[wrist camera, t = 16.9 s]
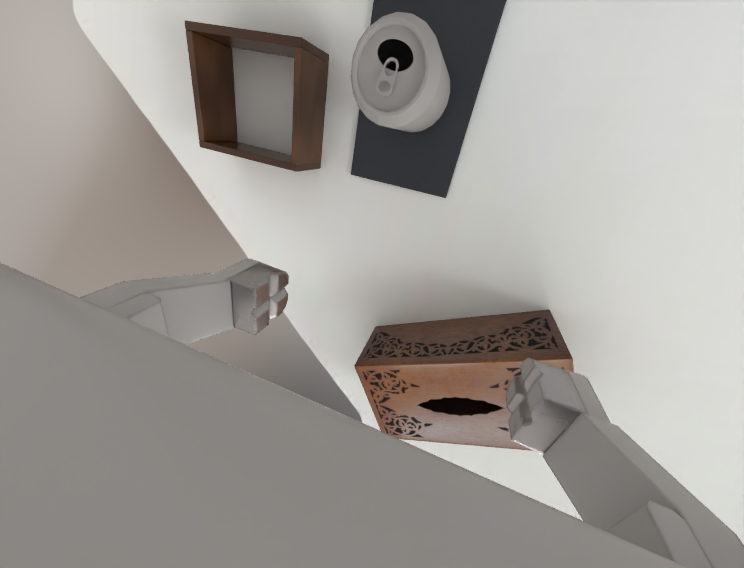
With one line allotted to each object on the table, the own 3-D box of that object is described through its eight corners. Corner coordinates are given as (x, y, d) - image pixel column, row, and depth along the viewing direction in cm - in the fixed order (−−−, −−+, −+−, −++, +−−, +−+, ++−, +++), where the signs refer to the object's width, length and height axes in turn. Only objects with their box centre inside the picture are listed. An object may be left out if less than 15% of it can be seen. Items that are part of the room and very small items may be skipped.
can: (464, 65, 28) (458, 20, 18) (432, 142, 32) (413, 140, 22) (398, 42, 29) (358, -14, 19) (375, 119, 33) (332, 107, 23)
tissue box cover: (398, 390, 52) (383, 437, 44) (375, 326, 47) (354, 365, 39) (557, 391, 41) (579, 454, 33) (549, 309, 37) (572, 358, 28)
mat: (379, -36, 27) (378, -38, 27) (513, -24, 25) (514, -27, 25) (351, 174, 37) (350, 174, 37) (445, 197, 35) (445, 197, 34)
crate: (226, 38, 35) (184, 20, 30) (329, 54, 32) (302, 37, 27) (233, 146, 41) (199, 146, 36) (320, 168, 38) (296, 171, 33)
